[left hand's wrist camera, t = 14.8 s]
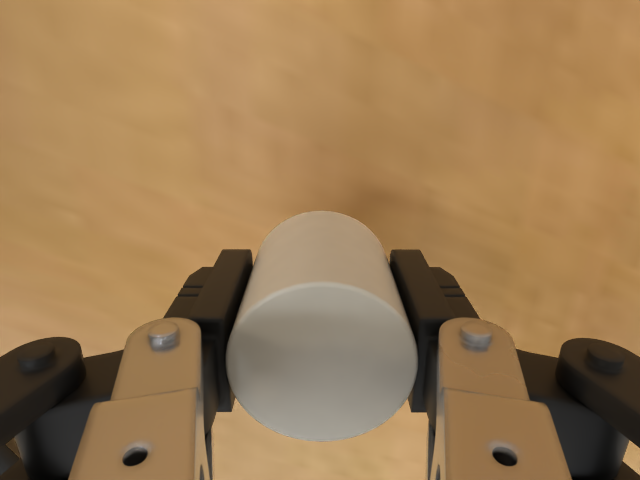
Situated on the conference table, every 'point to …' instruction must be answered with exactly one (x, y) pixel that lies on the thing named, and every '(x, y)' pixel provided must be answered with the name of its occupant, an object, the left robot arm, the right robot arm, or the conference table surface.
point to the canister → (321, 332)
